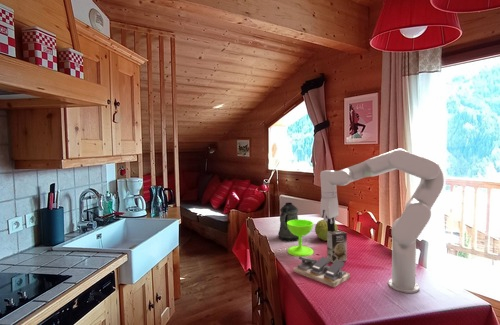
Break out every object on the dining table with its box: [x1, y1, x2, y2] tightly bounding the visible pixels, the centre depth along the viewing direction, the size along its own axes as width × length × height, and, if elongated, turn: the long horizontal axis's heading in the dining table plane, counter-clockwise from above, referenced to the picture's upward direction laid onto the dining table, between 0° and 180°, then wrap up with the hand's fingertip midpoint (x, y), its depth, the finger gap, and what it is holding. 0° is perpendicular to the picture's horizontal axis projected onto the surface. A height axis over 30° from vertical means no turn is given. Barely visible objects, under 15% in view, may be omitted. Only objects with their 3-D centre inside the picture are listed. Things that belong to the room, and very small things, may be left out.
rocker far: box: [298, 256, 318, 263], centre depth 154 cm, size 10×4×1 cm, turn 132°
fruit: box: [314, 219, 339, 241], centre depth 202 cm, size 16×14×15 cm
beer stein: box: [277, 202, 299, 242], centre depth 206 cm, size 16×19×25 cm
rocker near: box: [325, 260, 345, 278], centre depth 142 cm, size 10×4×1 cm, turn 132°
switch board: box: [293, 260, 351, 288], centre depth 148 cm, size 14×24×5 cm, turn 42°
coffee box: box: [326, 230, 348, 264], centre depth 166 cm, size 9×6×16 cm
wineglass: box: [286, 219, 314, 257], centre depth 180 cm, size 16×16×18 cm
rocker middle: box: [311, 256, 331, 272], centre depth 148 cm, size 10×4×1 cm, turn 132°
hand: (331, 230), depth 148 cm, fingers closed
